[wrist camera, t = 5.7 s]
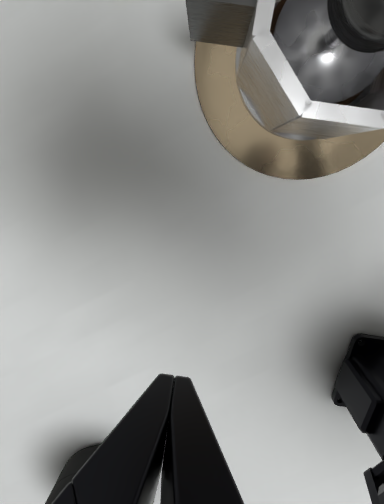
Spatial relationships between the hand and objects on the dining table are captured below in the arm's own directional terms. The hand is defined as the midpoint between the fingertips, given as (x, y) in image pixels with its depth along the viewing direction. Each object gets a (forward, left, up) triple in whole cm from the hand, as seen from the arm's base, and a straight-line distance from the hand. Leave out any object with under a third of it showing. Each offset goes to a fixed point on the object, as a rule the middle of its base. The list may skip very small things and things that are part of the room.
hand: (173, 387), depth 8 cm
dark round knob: (-5, -12, -10) cm, 16 cm away
